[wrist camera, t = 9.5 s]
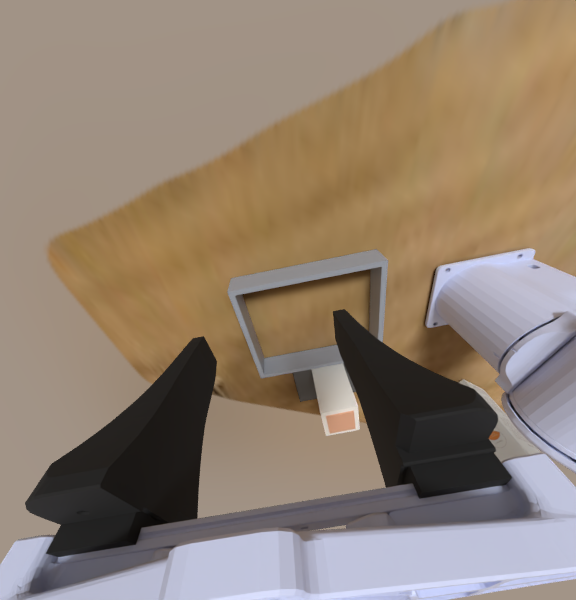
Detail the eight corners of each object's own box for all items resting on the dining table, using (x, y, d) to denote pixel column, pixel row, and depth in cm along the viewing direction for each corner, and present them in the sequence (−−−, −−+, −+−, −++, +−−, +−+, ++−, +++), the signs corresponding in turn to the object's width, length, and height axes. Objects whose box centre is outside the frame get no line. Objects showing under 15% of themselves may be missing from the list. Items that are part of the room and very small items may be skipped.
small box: (441, 414, 39) (491, 490, 31) (420, 406, 38) (467, 485, 29) (483, 388, 36) (553, 465, 27) (463, 377, 34) (531, 457, 25)
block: (342, 361, 29) (358, 407, 24) (345, 385, 32) (360, 431, 27) (311, 368, 29) (320, 414, 24) (316, 391, 32) (326, 437, 27)
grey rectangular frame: (376, 249, 22) (388, 260, 20) (373, 340, 28) (381, 356, 26) (231, 278, 22) (227, 292, 20) (261, 361, 29) (261, 378, 27)
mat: (360, 348, 29) (362, 351, 29) (361, 387, 33) (362, 390, 33) (290, 361, 29) (290, 365, 29) (299, 398, 34) (300, 401, 33)
